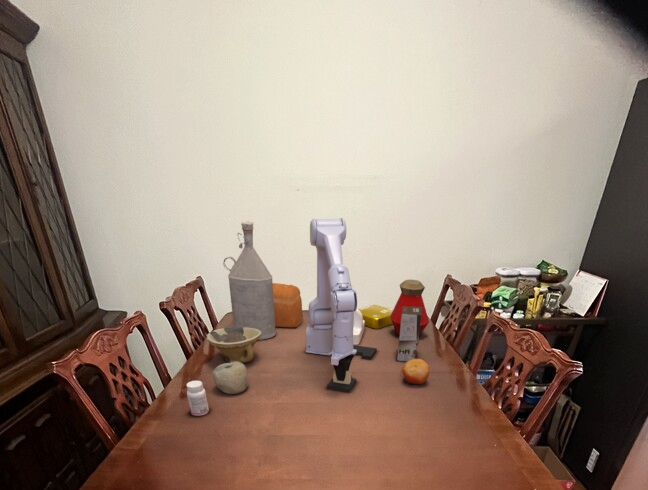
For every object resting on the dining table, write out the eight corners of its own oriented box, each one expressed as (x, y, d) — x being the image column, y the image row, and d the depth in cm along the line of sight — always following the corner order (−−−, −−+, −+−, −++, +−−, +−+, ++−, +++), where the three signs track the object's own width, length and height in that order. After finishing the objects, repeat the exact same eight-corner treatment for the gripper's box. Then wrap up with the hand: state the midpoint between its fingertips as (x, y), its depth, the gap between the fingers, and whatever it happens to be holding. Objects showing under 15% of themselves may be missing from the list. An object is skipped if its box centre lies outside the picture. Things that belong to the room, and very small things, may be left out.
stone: (258, 369, 125) (243, 356, 116) (248, 401, 124) (232, 391, 114) (229, 364, 128) (212, 351, 119) (220, 396, 127) (202, 385, 117)
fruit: (430, 371, 130) (432, 355, 123) (426, 392, 127) (427, 377, 120) (405, 368, 132) (404, 352, 125) (399, 388, 129) (399, 374, 122)
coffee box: (415, 362, 139) (421, 314, 131) (396, 360, 140) (401, 313, 132) (416, 352, 147) (422, 306, 138) (398, 350, 148) (402, 305, 139)
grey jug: (237, 328, 168) (224, 219, 146) (279, 330, 166) (272, 219, 145) (227, 339, 157) (211, 223, 136) (272, 341, 156) (263, 224, 134)
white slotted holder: (332, 342, 155) (333, 314, 149) (341, 327, 169) (341, 300, 163) (358, 344, 153) (359, 315, 147) (364, 328, 168) (365, 301, 162)
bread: (296, 329, 167) (294, 289, 158) (234, 325, 171) (230, 286, 162) (304, 318, 178) (303, 280, 170) (246, 315, 182) (242, 278, 174)
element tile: (373, 313, 184) (374, 302, 182) (400, 321, 175) (401, 310, 172) (349, 321, 176) (350, 309, 173) (376, 329, 167) (377, 318, 164)
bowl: (274, 359, 142) (272, 332, 137) (231, 375, 131) (227, 346, 126) (242, 346, 152) (239, 320, 147) (200, 360, 141) (195, 333, 136)
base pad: (342, 355, 144) (343, 352, 144) (349, 347, 151) (350, 344, 150) (370, 359, 141) (371, 356, 141) (376, 351, 148) (376, 348, 147)
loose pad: (327, 388, 123) (327, 374, 121) (337, 376, 130) (337, 362, 128) (349, 392, 121) (350, 377, 119) (358, 379, 128) (359, 365, 126)
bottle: (434, 336, 160) (442, 283, 149) (409, 344, 154) (415, 288, 143) (406, 325, 171) (411, 274, 160) (381, 332, 164) (384, 279, 154)
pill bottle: (192, 407, 114) (186, 380, 109) (210, 407, 114) (205, 379, 109) (189, 416, 110) (183, 388, 105) (207, 415, 110) (202, 387, 105)
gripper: (348, 345, 109) (347, 391, 117) (363, 327, 121) (361, 370, 128) (323, 341, 111) (323, 387, 119) (340, 325, 123) (340, 367, 130)
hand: (342, 378), depth 124 cm, fingers closed on loose pad
